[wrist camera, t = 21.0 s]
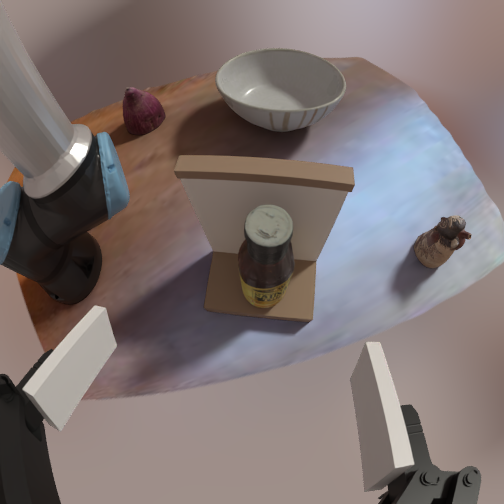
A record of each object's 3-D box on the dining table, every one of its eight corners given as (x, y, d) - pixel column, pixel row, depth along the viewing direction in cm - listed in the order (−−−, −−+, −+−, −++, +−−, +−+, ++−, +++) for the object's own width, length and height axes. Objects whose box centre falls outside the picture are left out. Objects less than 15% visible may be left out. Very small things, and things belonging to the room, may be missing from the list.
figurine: (433, 230, 46) (464, 199, 35) (448, 262, 43) (484, 236, 32) (408, 240, 45) (439, 208, 34) (424, 274, 43) (460, 249, 32)
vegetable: (163, 139, 62) (149, 104, 47) (125, 141, 61) (104, 109, 46) (169, 106, 63) (159, 70, 48) (133, 109, 62) (117, 75, 47)
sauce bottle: (257, 318, 39) (249, 281, 21) (235, 282, 41) (210, 218, 23) (295, 294, 40) (319, 237, 22) (272, 260, 42) (276, 183, 24)
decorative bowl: (306, 175, 51) (314, 131, 40) (199, 129, 58) (188, 88, 47) (351, 108, 59) (361, 71, 48) (261, 76, 65) (259, 40, 54)
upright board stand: (205, 310, 43) (147, 261, 21) (216, 246, 47) (179, 155, 25) (311, 322, 41) (358, 282, 20) (315, 256, 45) (353, 167, 24)
